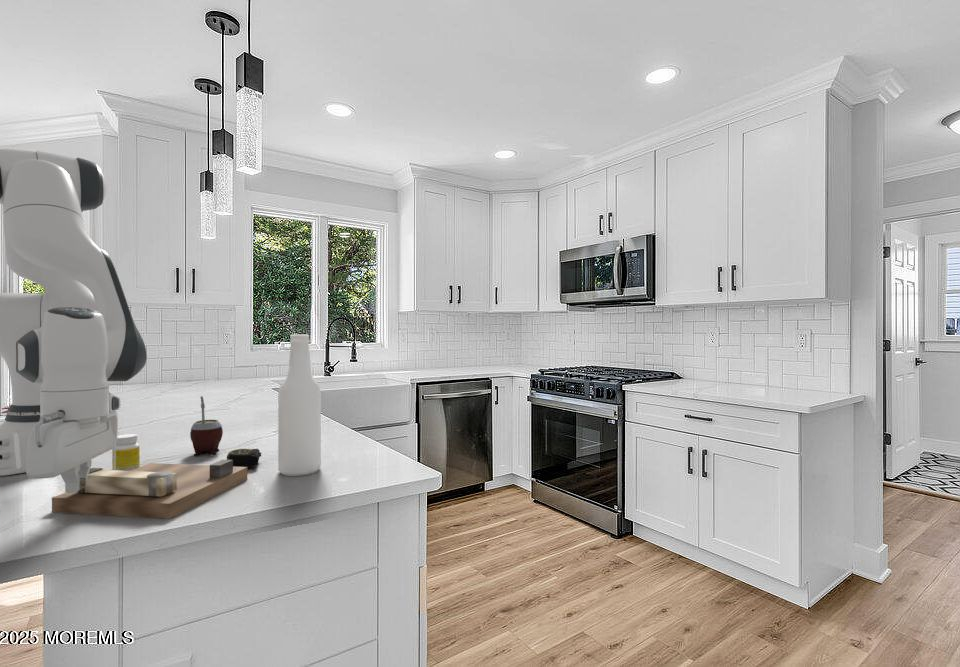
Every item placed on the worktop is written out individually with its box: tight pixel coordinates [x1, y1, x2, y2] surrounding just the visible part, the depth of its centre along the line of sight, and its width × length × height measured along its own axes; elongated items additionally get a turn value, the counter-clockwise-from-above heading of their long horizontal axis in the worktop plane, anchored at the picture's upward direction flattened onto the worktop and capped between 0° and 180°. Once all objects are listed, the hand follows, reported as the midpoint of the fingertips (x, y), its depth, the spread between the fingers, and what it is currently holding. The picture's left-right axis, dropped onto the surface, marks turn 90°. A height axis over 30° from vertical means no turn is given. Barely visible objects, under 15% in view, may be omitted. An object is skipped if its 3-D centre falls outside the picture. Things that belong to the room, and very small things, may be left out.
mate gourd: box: [189, 395, 224, 457], centre depth 126 cm, size 8×8×15 cm
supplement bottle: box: [111, 433, 141, 471], centre depth 108 cm, size 5×5×8 cm
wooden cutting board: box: [51, 459, 248, 520], centre depth 96 cm, size 22×22×5 cm
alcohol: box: [277, 333, 322, 477], centre depth 111 cm, size 9×9×30 cm
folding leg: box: [78, 467, 177, 496], centre depth 89 cm, size 17×4×3 cm, turn 83°
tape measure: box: [226, 448, 262, 469], centre depth 115 cm, size 7×7×4 cm
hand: (76, 490), depth 83 cm, fingers closed
